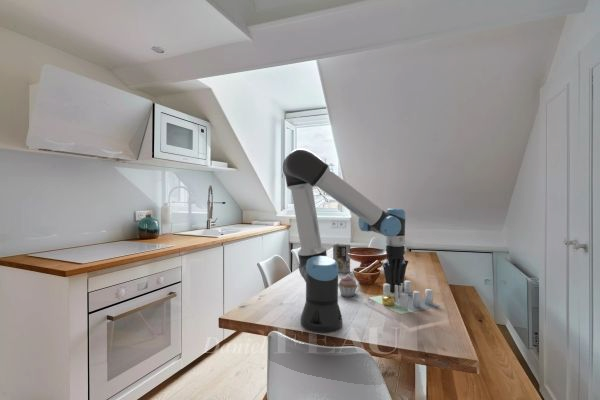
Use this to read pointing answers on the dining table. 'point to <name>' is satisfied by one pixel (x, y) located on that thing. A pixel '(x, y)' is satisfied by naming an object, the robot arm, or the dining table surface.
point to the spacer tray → (408, 299)
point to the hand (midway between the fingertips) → (394, 300)
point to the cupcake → (347, 286)
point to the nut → (388, 300)
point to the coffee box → (342, 257)
